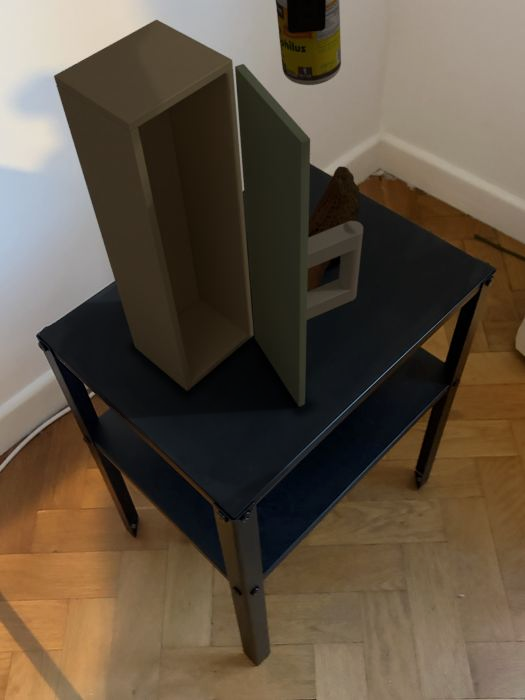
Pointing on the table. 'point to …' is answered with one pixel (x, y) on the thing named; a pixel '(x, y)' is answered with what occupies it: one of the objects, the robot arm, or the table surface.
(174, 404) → the table surface
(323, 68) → the supplement bottle
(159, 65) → the cabinet
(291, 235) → the cabinet door
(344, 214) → the sculpture
